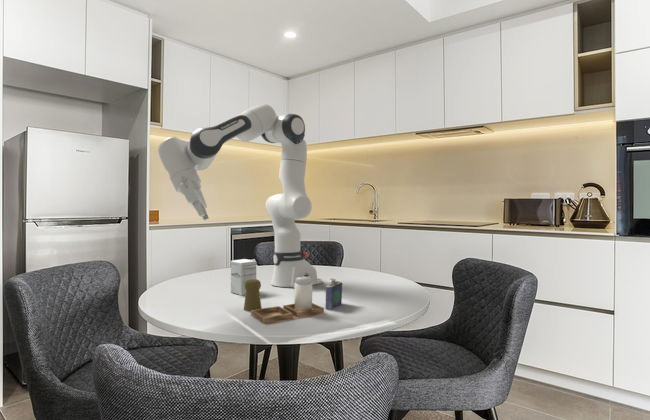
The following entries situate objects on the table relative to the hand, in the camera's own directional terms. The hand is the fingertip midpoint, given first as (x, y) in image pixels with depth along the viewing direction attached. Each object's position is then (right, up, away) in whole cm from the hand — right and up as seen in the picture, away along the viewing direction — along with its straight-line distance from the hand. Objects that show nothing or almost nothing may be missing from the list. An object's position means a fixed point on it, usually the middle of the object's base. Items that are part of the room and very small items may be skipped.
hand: (204, 217), depth 136 cm
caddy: (+29, -31, -13) cm, 45 cm away
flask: (+44, -31, -3) cm, 54 cm away
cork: (+18, -31, -7) cm, 36 cm away
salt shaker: (+34, -29, -10) cm, 46 cm away
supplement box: (+9, -30, +21) cm, 38 cm away
